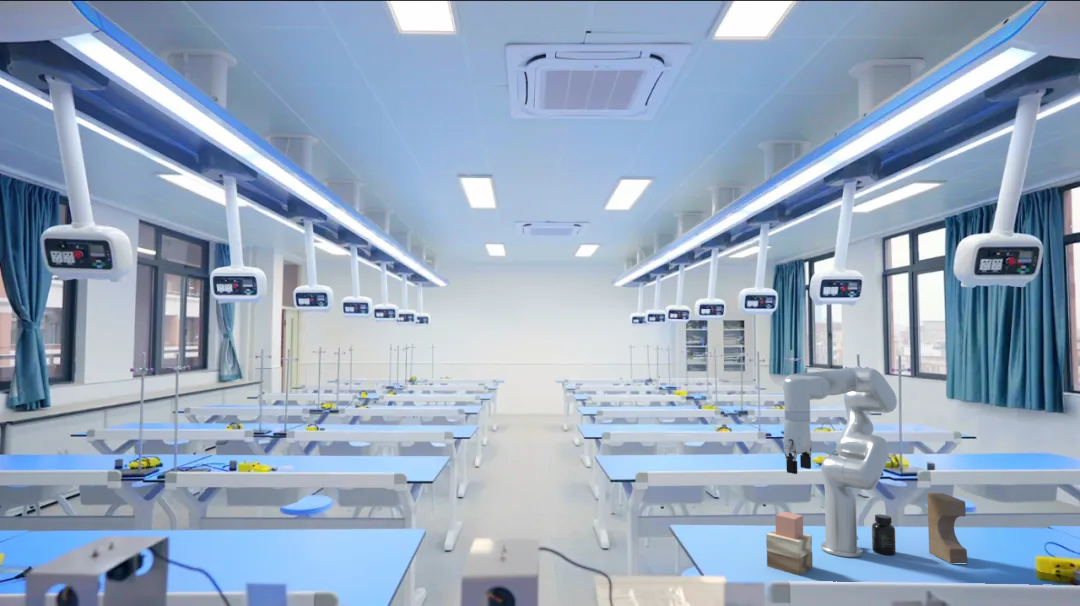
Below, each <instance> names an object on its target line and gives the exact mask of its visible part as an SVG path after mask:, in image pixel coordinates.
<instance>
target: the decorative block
mask: <svg viewBox="0 0 1080 606" xmlns="http://www.w3.org/2000/svg"><path fill="white" fill-rule="evenodd" d="M966 514H967V513H966V501H965V500H962V499H961V498H957V497H954V496H952V495H949V494H946V493H944V492H943V493H942V492H928V493H927V523H928V525H927V527H928V552H929V553H930V554H931V553H932V555H933V554H934V555H933V556H935V555H936V556H935V557H936V558H938V559H940V558H941V560H942V559H943V561H944V560H945V562H946V561H947V563H948V562H949V563H948V564H950V563H967V564H968V550H967V549H966V548H965V547H964V546H963V545H962V544H961V543H960V542H959V540H958V537H957V536H956V533H955V522H956V520H957V519H958V518H959V517H966V516H967V515H966Z"/></svg>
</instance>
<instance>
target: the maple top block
mask: <svg viewBox="0 0 1080 606" xmlns="http://www.w3.org/2000/svg"><path fill="white" fill-rule="evenodd" d="M765 539H766V542H765V543H766V544H765V545H766V552H767V551H770V552H774V553H777V554H781V555H785V556H788V557H792V558H796V559H800V558H802V557H803V556H805V555H807V554H809V553H810V552H812V553H813V546H812V545H813V541H812V540H813V536H812V534H808V533H804V532H803V536H800V537H798V538H796V539H792V538H788V537H784V536H780V535H776V529H775V530H772V531H771V532H769V533H766V538H765Z"/></svg>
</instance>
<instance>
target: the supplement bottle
mask: <svg viewBox="0 0 1080 606" xmlns="http://www.w3.org/2000/svg"><path fill="white" fill-rule="evenodd" d="M874 521H875V522H873V523H872V525H871V541H872V542H871V547H872V551H873V553H875V554H877V555H882V556H888V557H889V556H890V557H891V556H895V555H896V553H897V552H896V551H897V550H896V549H897V548H896V528H895V526H894V525H893V524H892V523H893V522H892V516H890V515H886V514H881V513H880V514H879V513H877V514H875V515H874Z"/></svg>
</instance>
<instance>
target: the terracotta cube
mask: <svg viewBox="0 0 1080 606" xmlns="http://www.w3.org/2000/svg"><path fill="white" fill-rule="evenodd" d="M775 530H776V535H780V536H784V537H788V538H792V539H796V538H798V537H800V536H803V533H804V515H801V514H797V513H792V512H789V511H782V512H779V513H777V514H775Z"/></svg>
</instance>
